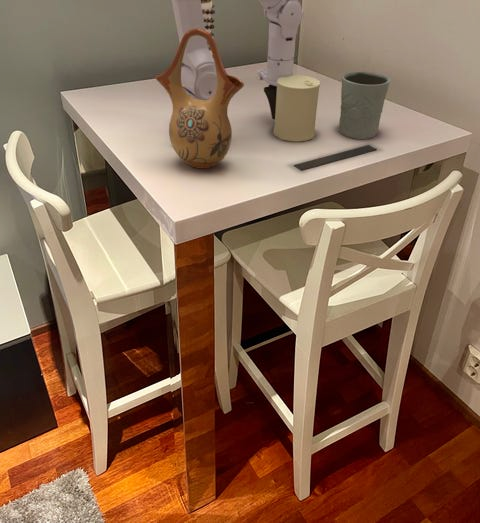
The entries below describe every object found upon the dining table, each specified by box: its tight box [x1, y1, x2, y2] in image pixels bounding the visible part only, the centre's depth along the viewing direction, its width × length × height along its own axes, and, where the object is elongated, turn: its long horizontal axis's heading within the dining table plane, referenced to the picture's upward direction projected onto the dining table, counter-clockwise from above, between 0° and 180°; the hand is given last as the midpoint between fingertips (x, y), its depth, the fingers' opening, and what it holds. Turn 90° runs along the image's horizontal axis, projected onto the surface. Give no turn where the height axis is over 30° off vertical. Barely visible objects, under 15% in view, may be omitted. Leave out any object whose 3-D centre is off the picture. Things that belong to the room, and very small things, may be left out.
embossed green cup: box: [338, 71, 391, 140], centre depth 114 cm, size 10×10×12 cm
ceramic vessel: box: [154, 28, 245, 169], centre depth 94 cm, size 16×9×25 cm, turn 76°
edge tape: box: [293, 144, 378, 171], centre depth 106 cm, size 20×2×1 cm, turn 122°
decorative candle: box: [201, 0, 216, 59], centre depth 138 cm, size 9×9×25 cm
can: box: [273, 74, 321, 142], centre depth 112 cm, size 9×9×12 cm
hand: (276, 118), depth 120 cm, fingers closed
